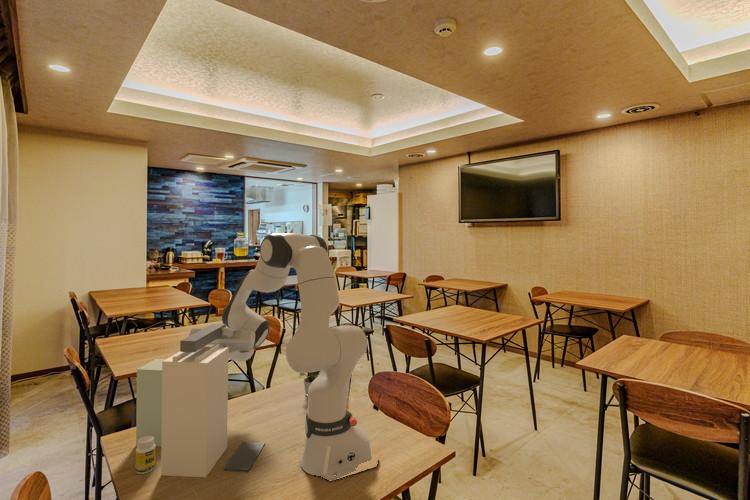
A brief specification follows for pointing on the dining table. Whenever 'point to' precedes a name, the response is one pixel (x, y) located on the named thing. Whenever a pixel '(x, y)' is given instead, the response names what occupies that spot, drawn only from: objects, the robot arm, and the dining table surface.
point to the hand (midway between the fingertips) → (213, 330)
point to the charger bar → (201, 338)
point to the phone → (244, 457)
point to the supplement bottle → (145, 455)
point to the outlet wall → (194, 411)
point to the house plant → (309, 379)
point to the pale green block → (149, 401)
